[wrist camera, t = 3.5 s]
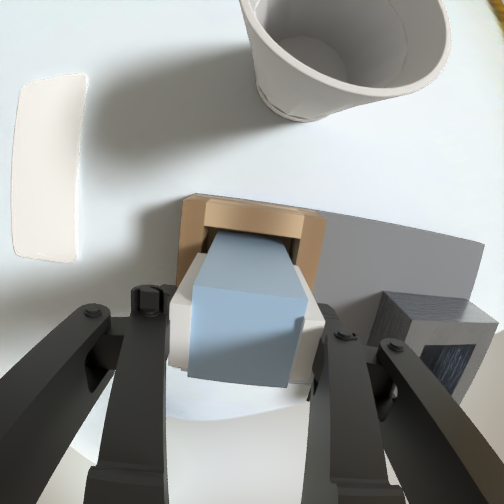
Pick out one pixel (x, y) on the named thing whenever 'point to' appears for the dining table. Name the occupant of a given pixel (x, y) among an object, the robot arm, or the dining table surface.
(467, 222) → the dining table surface
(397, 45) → the cup
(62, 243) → the smartphone
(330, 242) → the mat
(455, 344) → the port
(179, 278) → the tan square frame
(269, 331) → the plug
